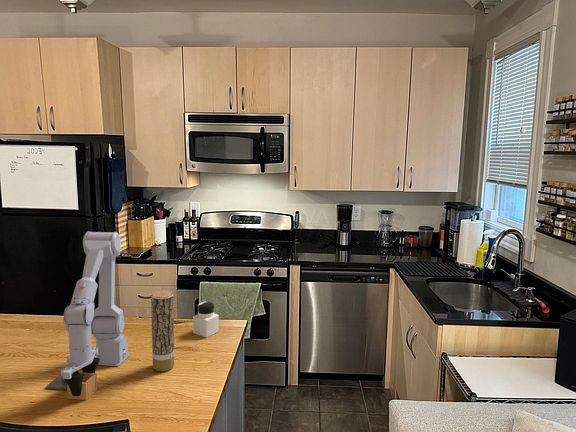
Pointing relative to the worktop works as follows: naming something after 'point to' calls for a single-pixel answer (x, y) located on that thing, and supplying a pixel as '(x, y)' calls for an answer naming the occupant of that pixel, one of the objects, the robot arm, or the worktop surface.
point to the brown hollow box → (85, 387)
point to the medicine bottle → (205, 320)
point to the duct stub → (58, 383)
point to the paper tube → (162, 330)
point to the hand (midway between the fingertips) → (82, 389)
